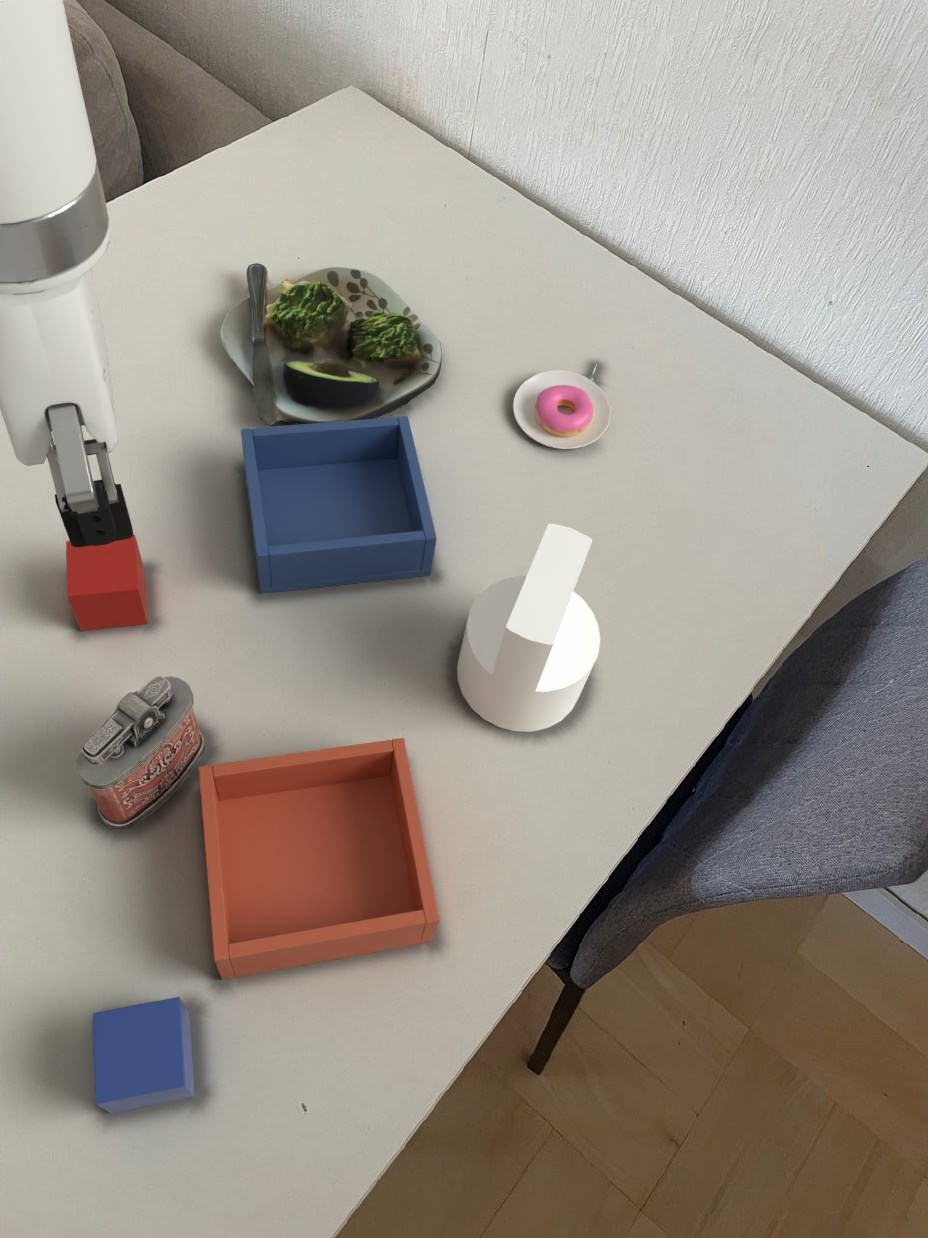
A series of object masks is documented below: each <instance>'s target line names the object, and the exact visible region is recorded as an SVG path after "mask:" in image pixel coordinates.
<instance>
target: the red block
mask: <svg viewBox="0 0 928 1238" xmlns="http://www.w3.org/2000/svg"><path fill="white" fill-rule="evenodd" d="M65 552H66V553H65V554H66V555H65V557H66V558H65V559H66V563H65V564H66V597H67V601H68V602H69V603H68V604H69V605H70V607H71V608H70V609H71V610H72V613H73V615H74V618H75V621H76V622H77V626H78V628H79V630H80V632H87V631H95V630H104V629H113V628H123V627H130V626H139V625H148V623H149V620H148V619H149V618H148V604H147V602H148V601H147V585H146V571H145V568H144V563H143V560H142V556H141V553H140V548H139V545H138V541H137V537H136V534H133V536H132V537H131V538H129V539H125V540H119V541H114V542H112V543H109V544H105V545H100V546H85V547H73V546H72V545H71V543H70V540H66V541H65Z"/></svg>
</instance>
